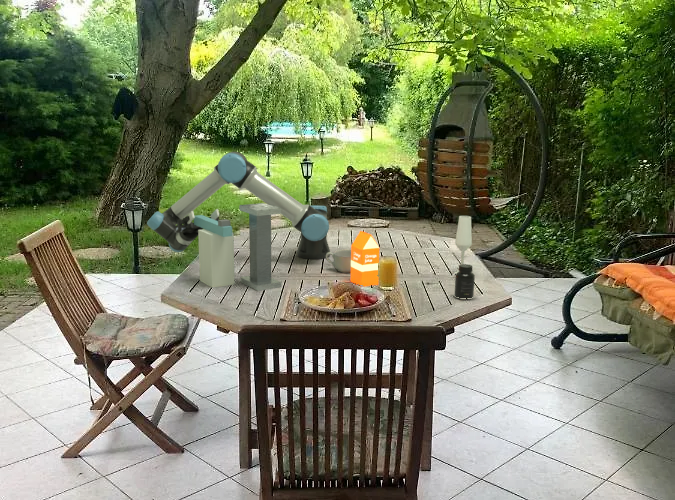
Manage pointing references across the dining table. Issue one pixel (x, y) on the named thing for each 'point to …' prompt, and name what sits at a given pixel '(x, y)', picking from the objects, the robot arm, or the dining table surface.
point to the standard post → (260, 246)
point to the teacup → (341, 260)
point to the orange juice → (364, 260)
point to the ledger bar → (214, 225)
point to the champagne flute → (463, 235)
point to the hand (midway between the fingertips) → (205, 213)
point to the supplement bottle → (464, 282)
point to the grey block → (216, 259)
